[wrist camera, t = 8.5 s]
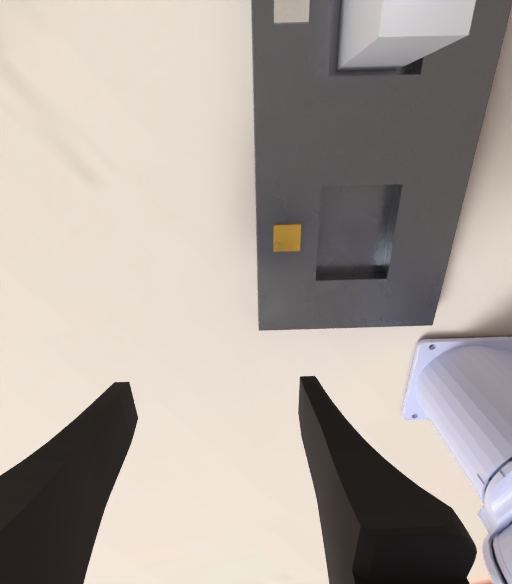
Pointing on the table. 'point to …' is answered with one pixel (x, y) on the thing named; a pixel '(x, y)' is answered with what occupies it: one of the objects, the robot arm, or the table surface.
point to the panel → (360, 168)
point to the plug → (398, 31)
